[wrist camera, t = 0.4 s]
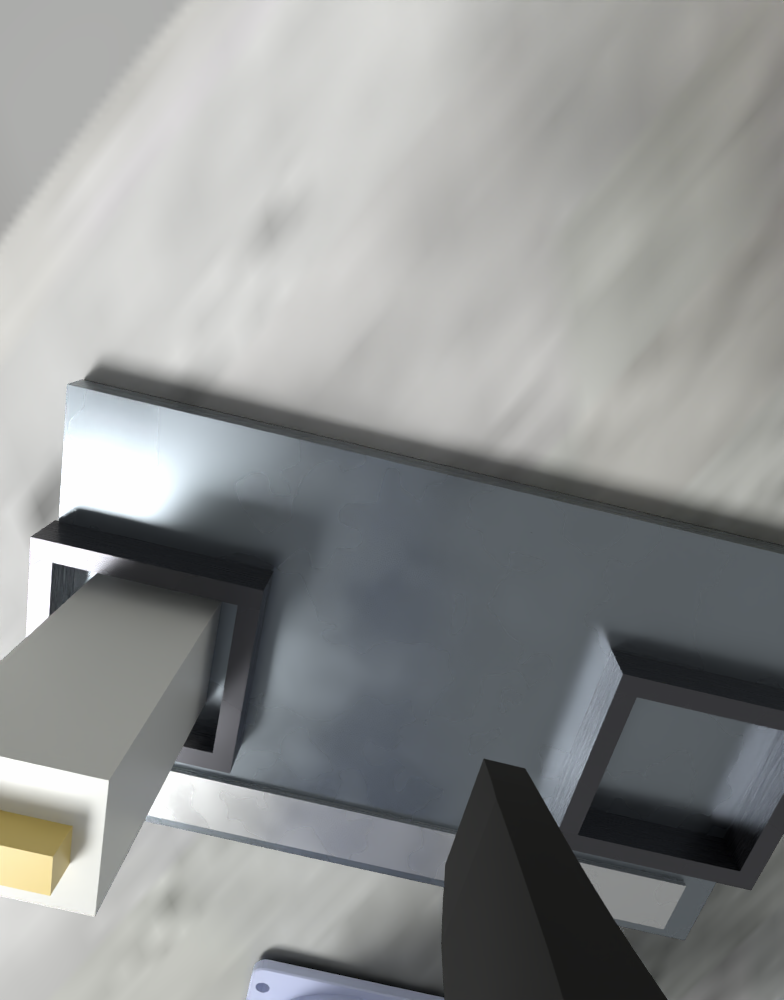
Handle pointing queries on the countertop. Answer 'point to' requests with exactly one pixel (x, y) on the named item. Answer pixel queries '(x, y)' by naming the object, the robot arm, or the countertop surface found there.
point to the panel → (437, 651)
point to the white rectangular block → (95, 733)
